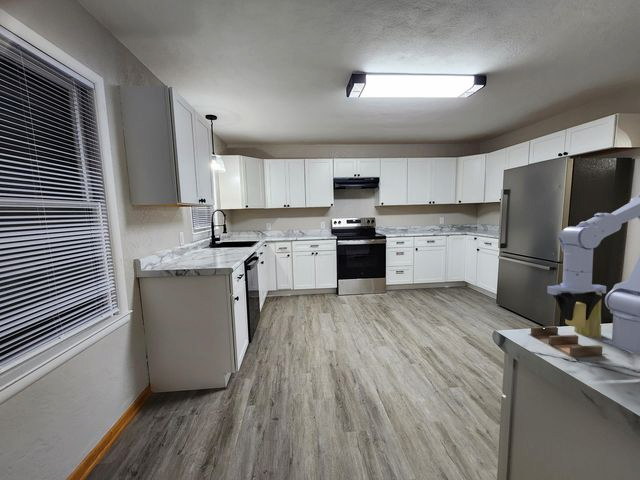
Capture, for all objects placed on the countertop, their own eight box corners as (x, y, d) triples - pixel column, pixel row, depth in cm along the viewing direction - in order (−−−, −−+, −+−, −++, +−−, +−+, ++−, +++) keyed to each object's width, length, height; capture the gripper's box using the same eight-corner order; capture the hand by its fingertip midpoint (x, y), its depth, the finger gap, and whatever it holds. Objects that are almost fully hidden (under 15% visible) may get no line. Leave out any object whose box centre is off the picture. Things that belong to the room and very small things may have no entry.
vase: (607, 339, 80) (609, 293, 79) (583, 338, 81) (585, 292, 80) (591, 331, 86) (593, 288, 85) (569, 330, 87) (570, 287, 86)
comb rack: (555, 334, 84) (555, 325, 84) (605, 358, 70) (606, 347, 69) (527, 335, 84) (528, 326, 84) (572, 359, 69) (572, 348, 69)
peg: (574, 321, 75) (575, 301, 75) (589, 327, 71) (590, 305, 71) (561, 322, 75) (561, 301, 75) (575, 327, 71) (575, 305, 71)
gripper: (588, 267, 76) (586, 313, 77) (538, 268, 76) (537, 314, 77) (616, 271, 69) (613, 322, 70) (561, 273, 69) (559, 324, 70)
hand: (575, 319), depth 73 cm, fingers closed on peg, 4 cm apart
